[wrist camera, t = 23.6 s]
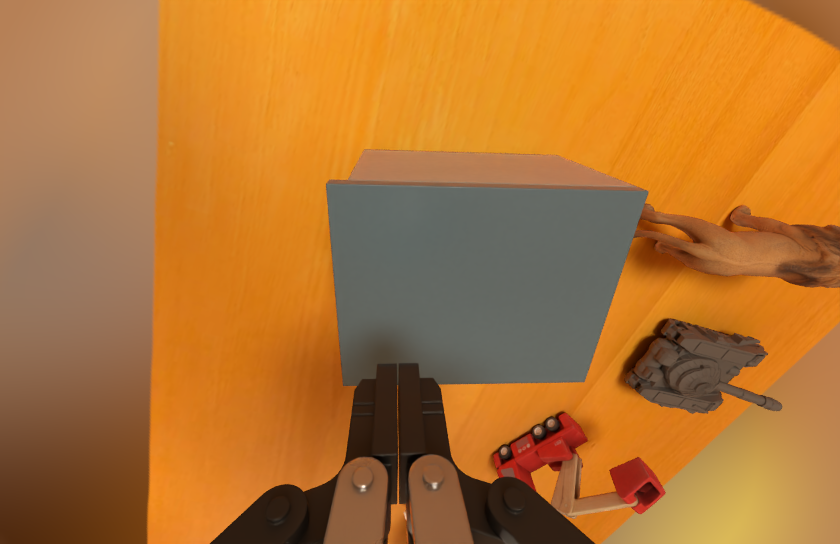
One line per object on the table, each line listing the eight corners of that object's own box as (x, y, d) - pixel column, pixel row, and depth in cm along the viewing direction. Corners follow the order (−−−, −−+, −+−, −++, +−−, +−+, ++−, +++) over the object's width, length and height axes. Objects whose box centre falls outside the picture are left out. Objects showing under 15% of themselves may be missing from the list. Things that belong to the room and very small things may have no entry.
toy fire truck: (487, 453, 40) (513, 553, 31) (594, 389, 36) (656, 483, 27) (504, 466, 41) (533, 566, 32) (609, 405, 37) (673, 500, 29)
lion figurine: (800, 183, 27) (971, 221, 19) (775, 246, 29) (916, 304, 21) (611, 205, 27) (703, 253, 19) (602, 267, 29) (679, 332, 21)
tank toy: (765, 333, 34) (824, 371, 29) (702, 402, 38) (744, 445, 33) (664, 304, 31) (710, 341, 27) (608, 380, 35) (640, 424, 31)
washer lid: (344, 376, 21) (342, 386, 20) (328, 179, 16) (325, 183, 15) (578, 372, 22) (584, 382, 21) (638, 186, 17) (649, 191, 16)
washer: (368, 295, 29) (358, 375, 21) (364, 149, 24) (347, 179, 16) (528, 295, 30) (578, 372, 22) (557, 154, 25) (637, 186, 17)
